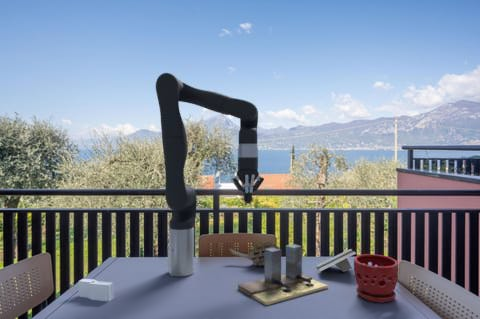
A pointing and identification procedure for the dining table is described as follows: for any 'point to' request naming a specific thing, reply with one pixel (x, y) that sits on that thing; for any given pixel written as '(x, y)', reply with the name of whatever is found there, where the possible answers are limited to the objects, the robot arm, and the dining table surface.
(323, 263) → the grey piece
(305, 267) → the dining table surface
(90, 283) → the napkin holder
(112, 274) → the dining table surface
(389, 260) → the plant pot
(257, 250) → the pine cone
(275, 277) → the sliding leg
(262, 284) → the base
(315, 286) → the bolt plate
